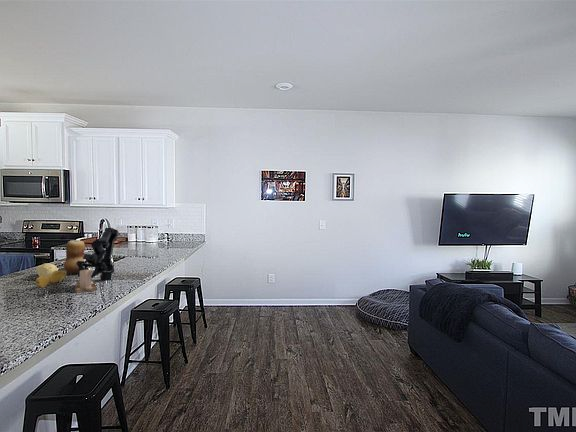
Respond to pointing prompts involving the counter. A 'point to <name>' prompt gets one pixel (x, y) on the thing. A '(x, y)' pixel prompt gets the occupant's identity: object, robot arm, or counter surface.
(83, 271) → the clay bar
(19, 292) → the counter surface
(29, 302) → the counter surface
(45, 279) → the decorative fish
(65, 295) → the counter surface
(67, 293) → the counter surface
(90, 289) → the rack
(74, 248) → the butternut squash
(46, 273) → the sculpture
